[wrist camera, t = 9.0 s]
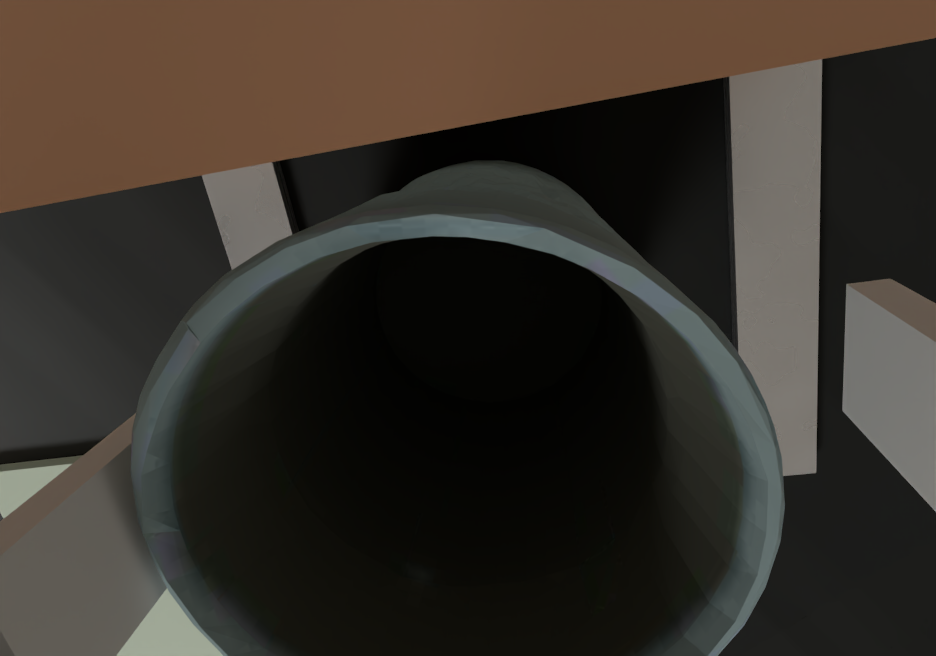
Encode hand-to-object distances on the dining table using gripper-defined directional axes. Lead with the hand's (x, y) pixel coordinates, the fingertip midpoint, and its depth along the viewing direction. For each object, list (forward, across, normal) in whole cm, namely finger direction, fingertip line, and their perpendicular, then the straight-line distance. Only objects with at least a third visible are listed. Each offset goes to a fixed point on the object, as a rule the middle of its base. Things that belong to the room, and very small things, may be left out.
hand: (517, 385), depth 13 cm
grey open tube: (+8, -1, 0) cm, 8 cm away
